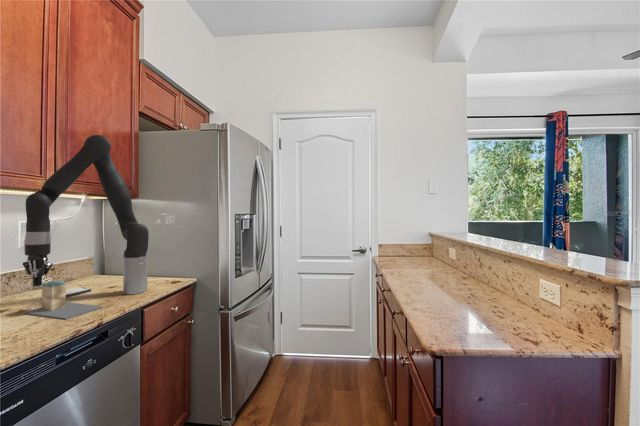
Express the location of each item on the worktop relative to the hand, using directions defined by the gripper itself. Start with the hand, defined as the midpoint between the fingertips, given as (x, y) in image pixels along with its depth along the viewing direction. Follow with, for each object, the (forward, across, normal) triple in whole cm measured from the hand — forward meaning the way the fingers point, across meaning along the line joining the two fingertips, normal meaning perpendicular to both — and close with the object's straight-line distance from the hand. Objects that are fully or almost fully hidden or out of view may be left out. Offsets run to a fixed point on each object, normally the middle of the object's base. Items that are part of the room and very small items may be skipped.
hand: (37, 285), depth 118 cm
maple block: (+8, -9, 0) cm, 12 cm away
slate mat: (+8, -14, 0) cm, 17 cm away
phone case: (+9, +7, -17) cm, 21 cm away
